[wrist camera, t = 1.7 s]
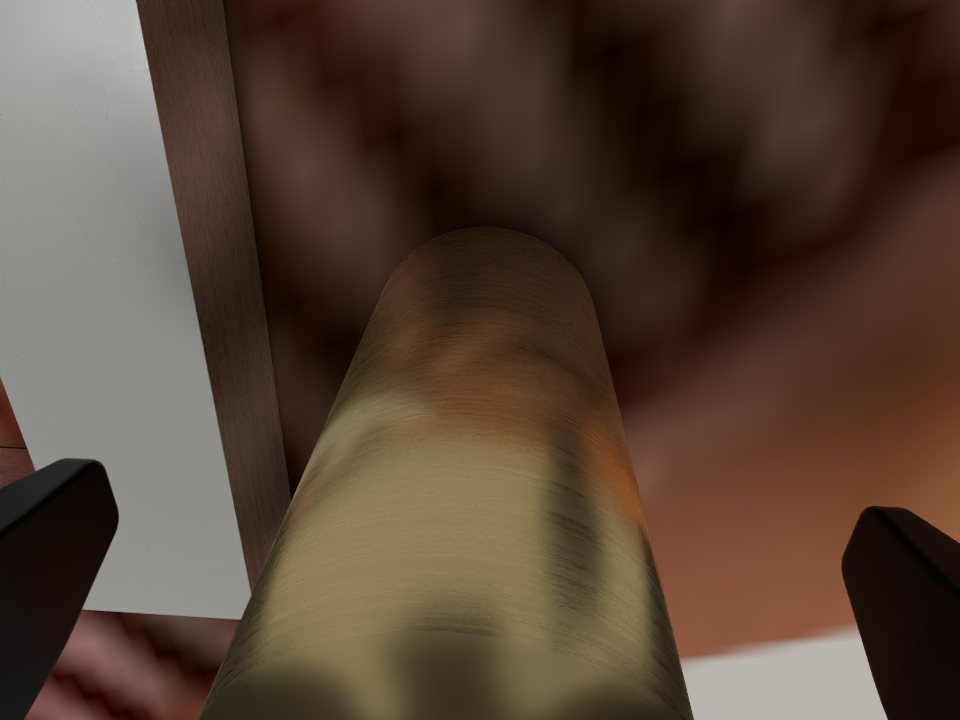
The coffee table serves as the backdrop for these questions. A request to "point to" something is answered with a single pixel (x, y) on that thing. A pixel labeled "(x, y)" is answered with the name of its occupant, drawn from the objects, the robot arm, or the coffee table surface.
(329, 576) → the pale yellow rod
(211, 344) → the plate
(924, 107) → the coffee table surface
